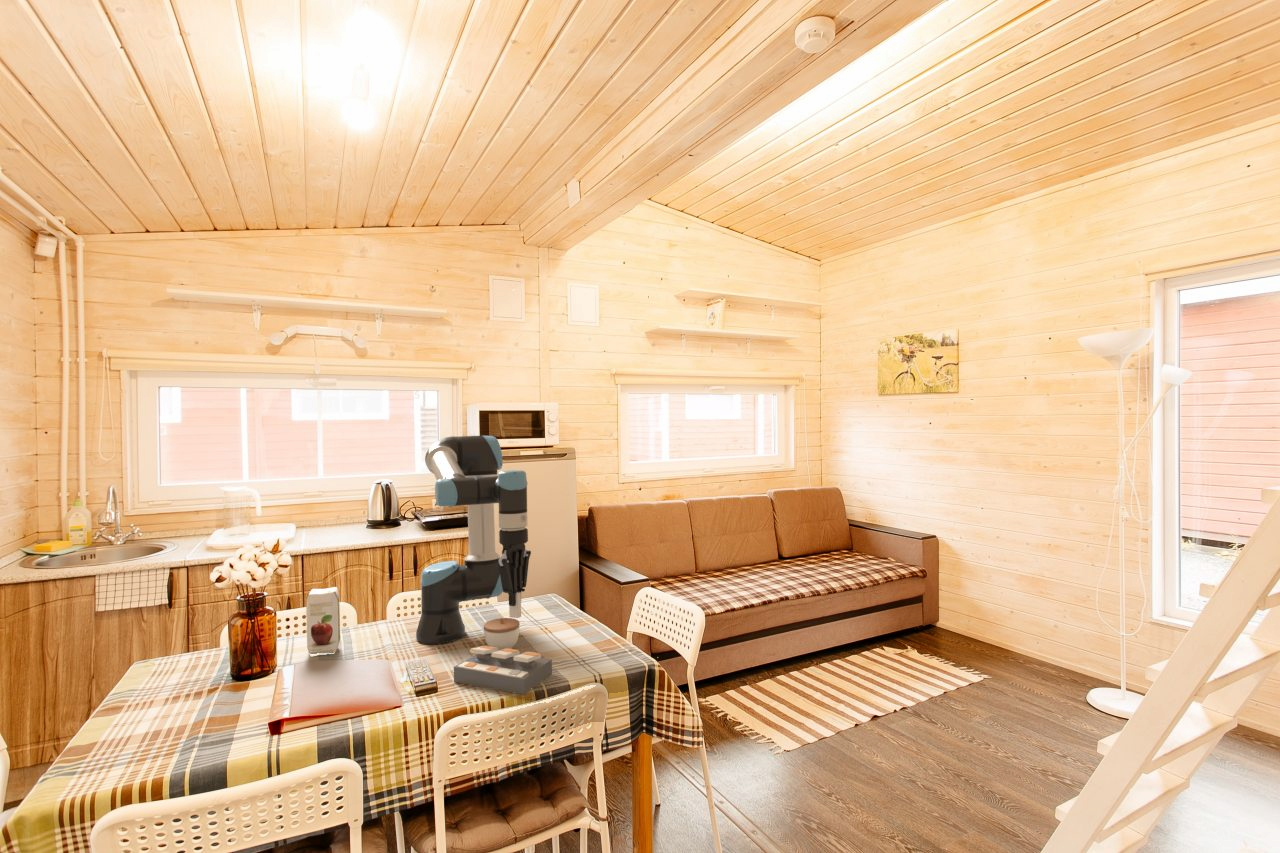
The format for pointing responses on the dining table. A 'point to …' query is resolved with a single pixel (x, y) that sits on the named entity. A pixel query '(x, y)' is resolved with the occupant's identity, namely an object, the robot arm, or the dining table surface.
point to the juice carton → (323, 620)
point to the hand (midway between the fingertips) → (515, 616)
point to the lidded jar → (501, 632)
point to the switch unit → (502, 673)
